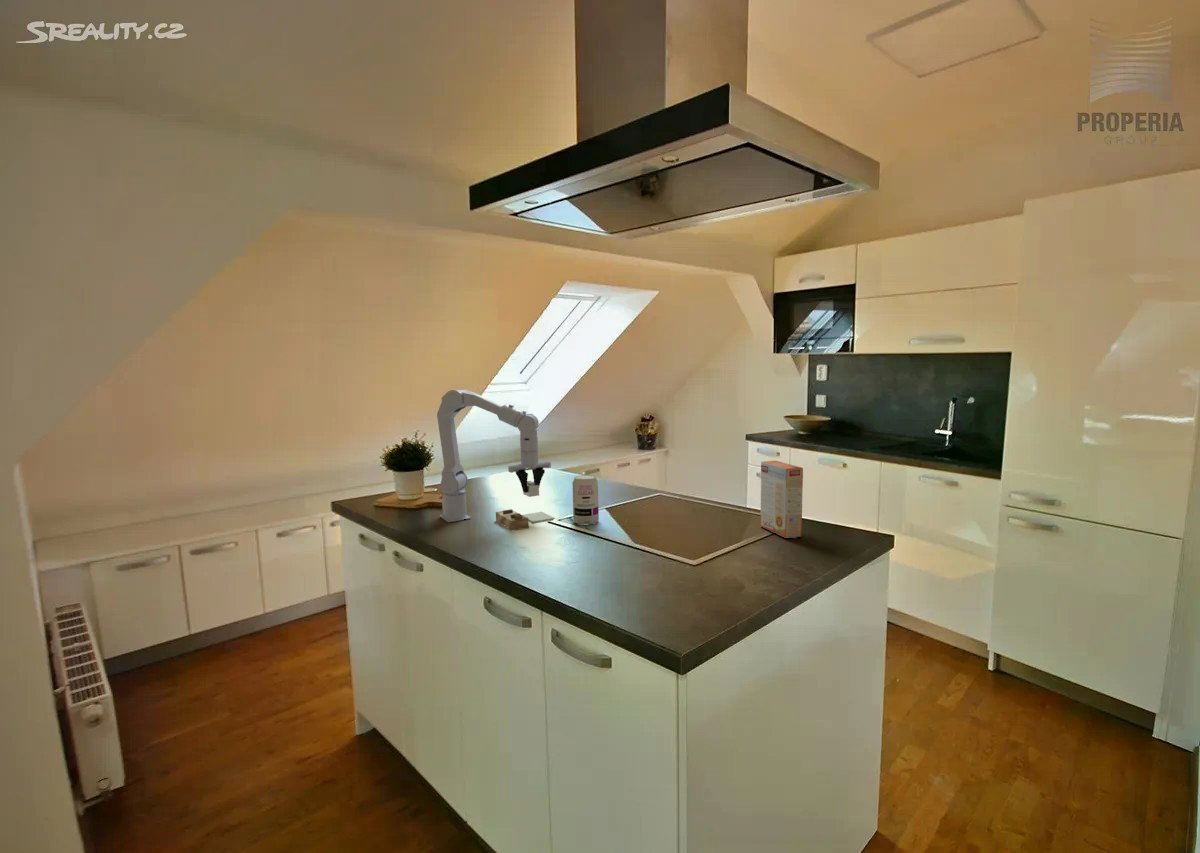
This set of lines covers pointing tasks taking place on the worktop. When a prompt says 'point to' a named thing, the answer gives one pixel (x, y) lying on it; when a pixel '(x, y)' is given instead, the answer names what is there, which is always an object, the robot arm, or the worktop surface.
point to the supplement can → (585, 499)
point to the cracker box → (781, 498)
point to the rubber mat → (538, 517)
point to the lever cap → (532, 489)
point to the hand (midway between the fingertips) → (530, 491)
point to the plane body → (512, 519)
